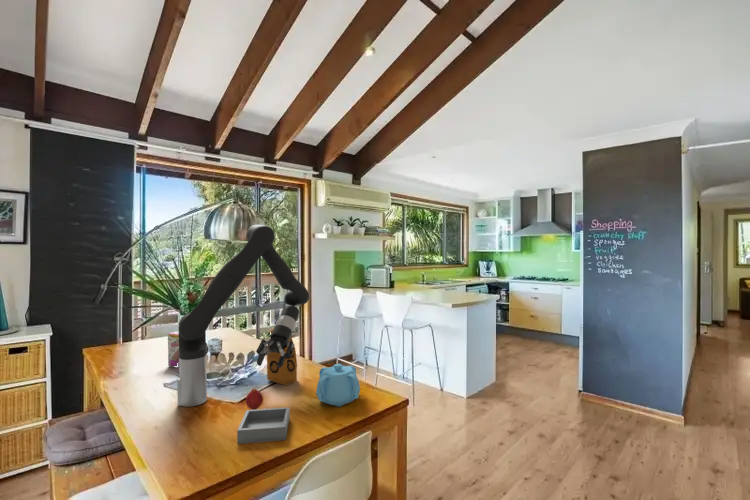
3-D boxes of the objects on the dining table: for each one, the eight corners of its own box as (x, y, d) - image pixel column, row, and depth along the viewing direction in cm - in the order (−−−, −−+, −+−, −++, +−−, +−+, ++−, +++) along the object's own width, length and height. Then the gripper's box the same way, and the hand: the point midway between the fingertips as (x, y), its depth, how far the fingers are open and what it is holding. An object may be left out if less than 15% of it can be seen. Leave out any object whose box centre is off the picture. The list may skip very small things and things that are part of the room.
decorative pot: (359, 409, 136) (359, 371, 136) (313, 410, 136) (313, 372, 135) (360, 392, 152) (360, 358, 152) (319, 392, 152) (319, 358, 152)
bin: (237, 443, 113) (237, 430, 113) (246, 422, 127) (246, 410, 127) (285, 440, 115) (285, 426, 115) (289, 419, 129) (289, 407, 129)
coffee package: (282, 387, 157) (282, 334, 156) (263, 381, 164) (263, 330, 164) (301, 380, 165) (300, 330, 164) (282, 375, 172) (281, 326, 172)
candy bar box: (167, 367, 185) (167, 333, 184) (176, 364, 189) (175, 331, 189) (185, 369, 181) (185, 335, 181) (193, 366, 186) (193, 332, 185)
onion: (248, 407, 138) (247, 385, 138) (264, 406, 139) (264, 384, 139) (244, 414, 133) (243, 391, 133) (260, 413, 133) (260, 390, 133)
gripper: (264, 323, 155) (248, 359, 144) (296, 324, 151) (281, 362, 140) (271, 333, 160) (256, 369, 149) (302, 335, 156) (288, 372, 145)
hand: (268, 365), depth 145 cm, fingers open, 8 cm apart
